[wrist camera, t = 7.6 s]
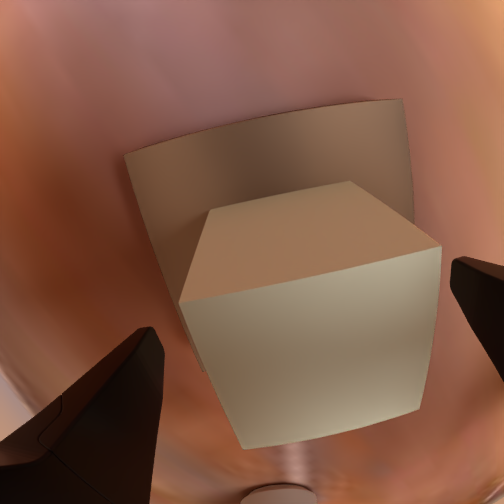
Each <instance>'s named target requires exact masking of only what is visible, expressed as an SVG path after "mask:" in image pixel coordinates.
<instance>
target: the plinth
mask: <svg viewBox="0 0 504 504" xmlns="http://www.w3.org/2000/svg"><path fill="white" fill-rule="evenodd" d="M123 156H124V159H125V163H126V166H127V170H128V173H129V176H130V180H131V183H132V186H133V190H134V193H135V196H136V199H137V202H138V206H139V209H140V212H141V215H142V218H143V221H144V224H145V227H146V230H147V233H148V236H149V239H150V242H151V244H152V247H153V250H154V253H155V256H156V258H157V261H158V264H159V267H160V269H161V272H162V275H163V277H164V280H165V283H166V285H167V288H168V291H169V293H170V296H171V298H172V301H173V303H174V306H175V308H176V311H177V313H178V316H179V318H180V321H181V323H182V326H183V328H184V331H185V333H186V335H187V338H188V340H189V342H190V345H191V347H192V349H193V352H194V354H195V356H196V359H197V361H198V363H199V365H200V368H201V370H202V372H204V371H206V369H205V367H204V365H203V362H202V360H201V358H200V355H199V353H198V351H197V348H196V346H195V343H194V341H193V339H192V336H191V334H190V331H189V329H188V326H187V324H186V321H185V319H184V316H183V313H182V311H181V308H180V306H179V300H180V297H181V294H182V291H183V287H184V284H185V281H186V278H187V275H188V272H189V269H190V266H191V263H192V260H193V257H194V254H195V251H196V248H197V245H198V243H199V240H200V237H201V234H202V231H203V228H204V225H205V222H206V220H207V217H208V214H209V211H210V210H211V209H215V208H219V207H224V206H228V205H232V204H237V203H241V202H246V201H251V200H255V199H260V198H265V197H269V196H274V195H279V194H284V193H289V192H294V191H299V190H304V189H309V188H314V187H319V186H324V185H330V184H335V183H340V182H346V181H351V182H353V183H354V184H356V185H357V186H359V187H360V188H362V189H363V190H365V191H366V192H368V193H369V194H371V195H372V196H374V197H375V198H377V199H378V200H380V201H381V202H383V203H384V204H386V205H387V206H388V207H390V208H391V209H393V210H394V211H396V212H397V213H398V214H400V215H401V216H403V217H404V218H405V219H407V220H408V221H410V222H411V223H412V224H414V201H413V184H412V171H411V160H410V150H409V141H408V133H407V126H406V118H405V112H404V105H403V99H384V100H370V101H360V102H351V103H343V104H335V105H328V106H321V107H314V108H308V109H301V110H295V111H290V112H284V113H279V114H273V115H268V116H263V117H258V118H253V119H249V120H244V121H239V122H235V123H231V124H226V125H222V126H218V127H214V128H210V129H206V130H202V131H198V132H194V133H191V134H187V135H183V136H180V137H176V138H173V139H169V140H166V141H163V142H159V143H156V144H153V145H149V146H146V147H143V148H140V149H138V150H135V151H132V152H130V153H127V154H125V155H123Z"/></svg>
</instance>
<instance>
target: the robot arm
mask: <svg viewBox="0 0 504 504" xmlns="http://www.w3.org/2000/svg"><path fill="white" fill-rule="evenodd" d="M450 288H451V291H452V293H453V294H454V296H455V298H456V300H457V302H458V304H459V306H460V307H461V309H462V311H463V313H464V315H465V317H466V319H467V321H468V323H469V325H470V326H471V328H472V330H473V331H474V333H475V335H476V336H477V338H478V339H479V341H480V343H481V344H482V346H483V348H484V349H485V351H486V352H487V354H488V356H489V357H490V359H491V361H492V363H493V364H494V366H495V368H496V369H497V371H498V373H499V375H500V377H501V378H502V380H503V382H504V266H501V265H497V264H493V263H489V262H485V261H481V260H478V259H474V258H470V257H466V256H462V257H459V258H456V259H454V260H453V261H452V264H451V277H450ZM164 359H165V353H164V348H163V346H162V344H161V342H160V340H159V338H158V336H157V334H156V332H155V330H154V328H153V327H143V328H139V329H137V330H136V331H135V332H134V333H133V334H131V335H130V336H129V337H128V338H127V339H126V340H124V341H123V342H122V343H121V344H120V345H118V346H117V347H116V348H115V349H114V350H112V351H111V352H110V353H109V354H108V355H107V356H105V357H104V358H103V359H102V360H101V361H100V362H98V363H97V364H96V365H95V366H94V367H92V368H91V369H90V370H89V371H88V372H87V373H85V374H84V375H83V376H82V377H81V378H80V379H78V380H77V381H76V382H75V383H74V384H73V385H71V386H70V387H69V388H68V389H67V390H66V391H64V392H63V393H62V395H60V396H58V397H57V398H56V399H55V400H54V401H53V402H51V403H50V404H49V405H48V406H47V407H45V408H44V409H43V410H42V411H41V412H39V413H38V414H37V415H35V416H34V417H33V418H32V419H30V420H29V421H28V422H26V423H25V424H24V425H22V426H21V427H20V428H18V429H17V430H15V431H14V432H13V433H11V434H10V435H9V436H7V437H6V438H5V439H3V440H2V441H0V504H149V501H150V492H151V482H152V474H153V465H154V457H155V449H156V442H157V434H158V427H159V420H160V413H161V407H162V399H163V381H164Z"/></svg>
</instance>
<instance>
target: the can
mask: <svg viewBox="0 0 504 504" xmlns="http://www.w3.org/2000/svg"><path fill="white" fill-rule="evenodd" d="M240 504H317V498H316V495H315V494H314V493H313V492H311V491H308V490H306V489H305V488H304V487H301V486H298V485H271V486H266V487H262V488H259V489H256V490H254V491H252V492H250V494H249V495H248V496H246V497H245V498H243V499H242V501H241V502H240Z"/></svg>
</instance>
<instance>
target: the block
mask: <svg viewBox="0 0 504 504" xmlns="http://www.w3.org/2000/svg"><path fill="white" fill-rule="evenodd" d="M441 253H442V246H441V245H440V244H439V243H437V242H436V241H435V240H434V239H432V238H431V237H430V236H428V235H427V234H426V233H424V232H423V231H422V230H420V229H419V228H418V227H416V226H415V225H414V224H412V223H411V222H410V221H408V220H407V219H405V218H404V217H403V216H401V215H400V214H398V213H397V212H396V211H394V210H393V209H391V208H390V207H388V206H387V205H386V204H384V203H383V202H381V201H380V200H378V199H377V198H375V197H374V196H372V195H371V194H369V193H368V192H366V191H365V190H363V189H362V188H360V187H359V186H357V185H356V184H354V183H353V182H351V181H346V182H340V183H335V184H330V185H324V186H319V187H314V188H309V189H304V190H299V191H294V192H289V193H284V194H279V195H274V196H269V197H265V198H260V199H255V200H251V201H246V202H241V203H237V204H232V205H228V206H224V207H219V208H215V209H211V210H210V211H209V214H208V217H207V220H206V222H205V225H204V228H203V231H202V234H201V237H200V240H199V243H198V245H197V248H196V251H195V254H194V257H193V260H192V263H191V266H190V269H189V272H188V275H187V278H186V281H185V284H184V287H183V291H182V294H181V297H180V300H179V306H180V308H181V311H182V313H183V316H184V319H185V321H186V324H187V326H188V329H189V331H190V334H191V336H192V339H193V341H194V343H195V346H196V348H197V351H198V353H199V355H200V358H201V360H202V362H203V365H204V367H205V369H206V372H207V374H208V376H209V379H210V381H211V383H212V385H213V388H214V390H215V392H216V394H217V396H218V399H219V401H220V403H221V405H222V407H223V410H224V412H225V414H226V416H227V418H228V420H229V422H230V424H231V426H232V428H233V430H234V433H235V435H236V437H237V439H238V441H239V443H240V445H241V447H242V449H243V450H247V449H255V448H262V447H270V446H276V445H283V444H288V443H294V442H300V441H305V440H310V439H315V438H320V437H324V436H329V435H333V434H337V433H342V432H346V431H350V430H353V429H357V428H361V427H365V426H368V425H372V424H375V423H379V422H382V421H385V420H388V419H392V418H395V417H398V416H401V415H404V414H407V413H410V412H412V411H415V410H418V409H419V408H420V404H421V400H422V396H423V391H424V387H425V382H426V377H427V372H428V367H429V361H430V356H431V350H432V344H433V337H434V330H435V323H436V315H437V306H438V297H439V285H440V272H441Z"/></svg>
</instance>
